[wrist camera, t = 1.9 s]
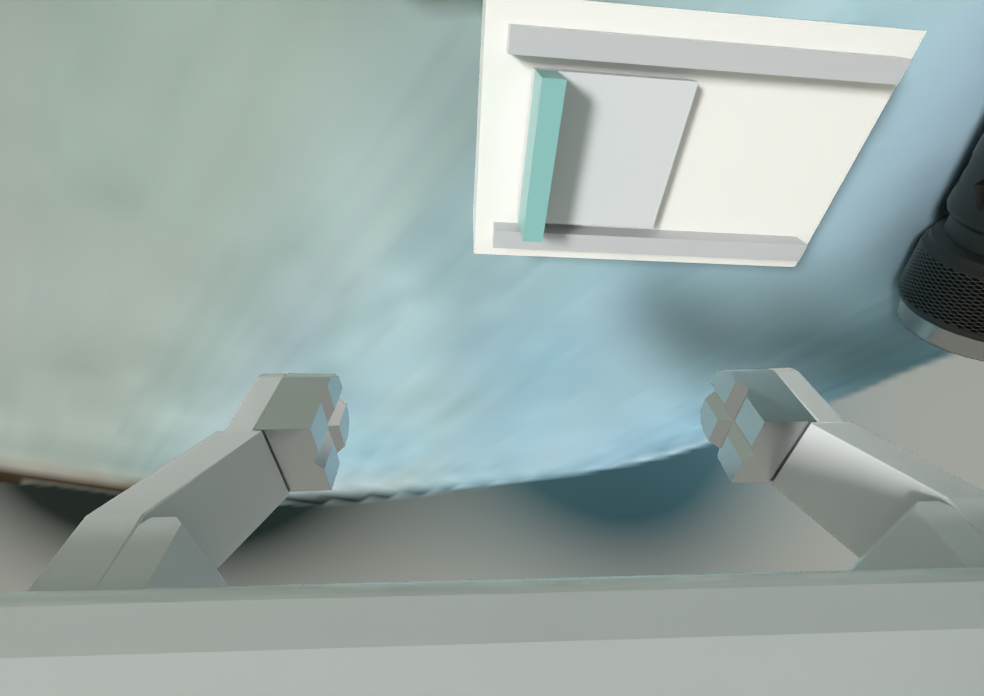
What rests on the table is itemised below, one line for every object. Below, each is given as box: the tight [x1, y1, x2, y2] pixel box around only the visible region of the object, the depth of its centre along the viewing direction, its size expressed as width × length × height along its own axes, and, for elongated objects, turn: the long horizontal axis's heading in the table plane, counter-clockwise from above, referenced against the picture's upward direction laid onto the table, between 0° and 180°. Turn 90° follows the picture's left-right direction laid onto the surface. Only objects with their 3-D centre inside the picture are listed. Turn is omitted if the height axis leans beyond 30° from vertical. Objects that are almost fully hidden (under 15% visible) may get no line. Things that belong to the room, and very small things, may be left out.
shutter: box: [517, 67, 699, 242], centre depth 21 cm, size 7×8×3 cm
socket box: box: [473, 0, 927, 267], centre depth 24 cm, size 12×20×6 cm, turn 86°
